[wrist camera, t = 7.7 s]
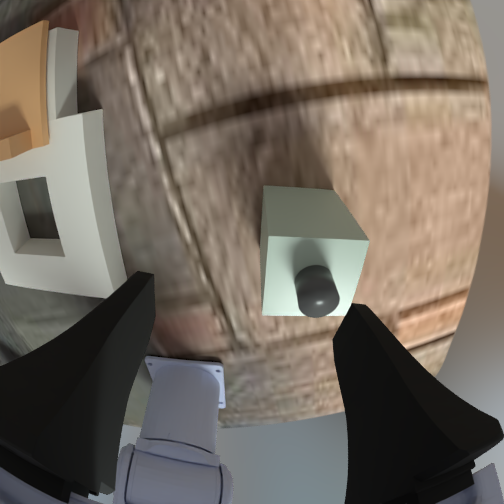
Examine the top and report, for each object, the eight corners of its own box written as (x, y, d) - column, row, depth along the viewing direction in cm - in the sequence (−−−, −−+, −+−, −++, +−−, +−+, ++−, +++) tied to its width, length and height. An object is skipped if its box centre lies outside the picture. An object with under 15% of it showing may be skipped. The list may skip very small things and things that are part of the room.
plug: (323, 250, 20) (354, 336, 13) (259, 248, 20) (262, 337, 13) (334, 190, 17) (381, 259, 11) (263, 185, 17) (270, 255, 11)
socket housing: (127, 279, 21) (116, 299, 19) (19, 268, 21) (5, 283, 19) (104, 23, 11) (84, 17, 9) (-17, 75, 11) (-37, 79, 9)
